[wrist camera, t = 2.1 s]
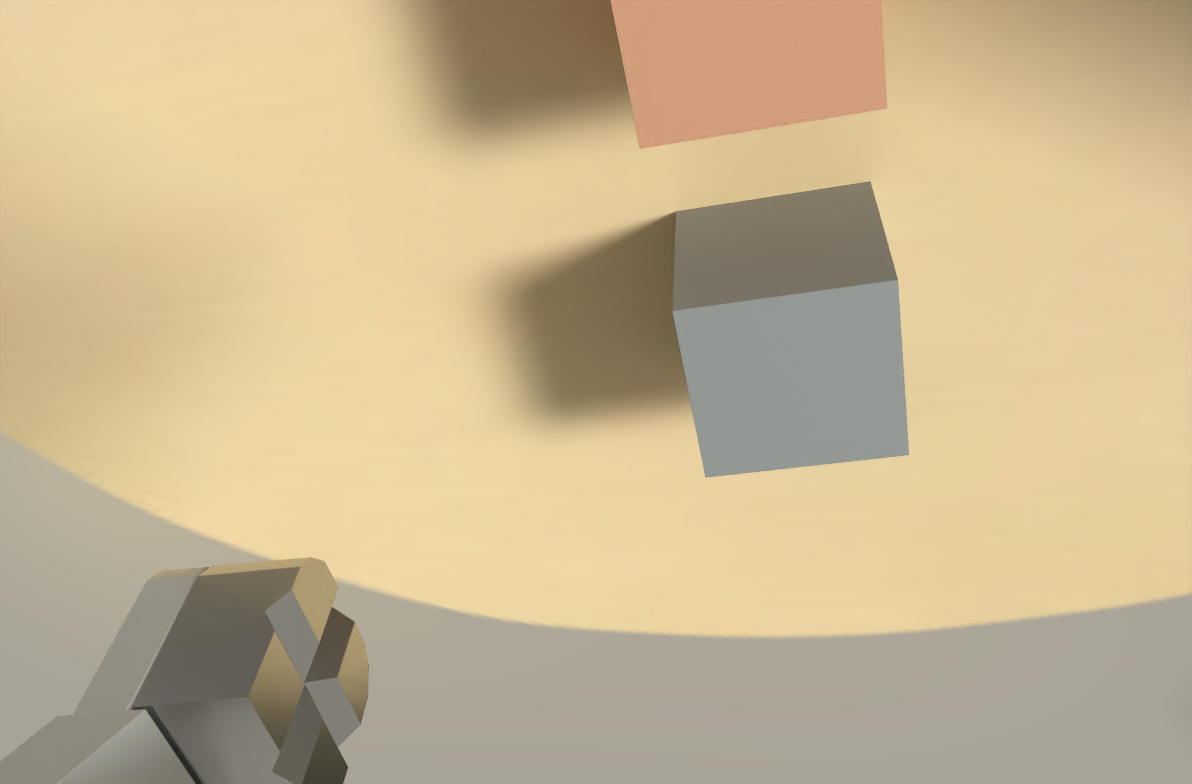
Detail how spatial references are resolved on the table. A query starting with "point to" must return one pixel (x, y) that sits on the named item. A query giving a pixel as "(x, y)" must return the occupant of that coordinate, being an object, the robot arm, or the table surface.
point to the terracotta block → (747, 64)
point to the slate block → (790, 331)
